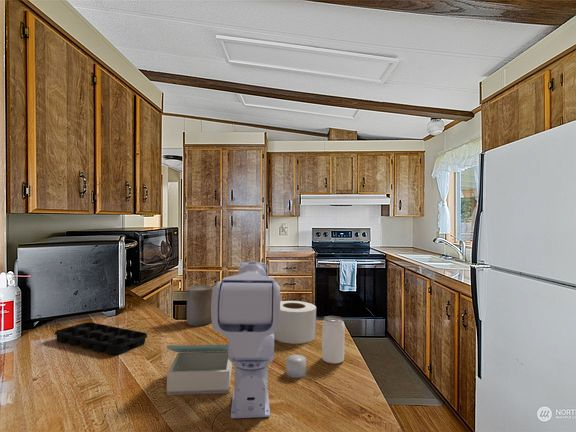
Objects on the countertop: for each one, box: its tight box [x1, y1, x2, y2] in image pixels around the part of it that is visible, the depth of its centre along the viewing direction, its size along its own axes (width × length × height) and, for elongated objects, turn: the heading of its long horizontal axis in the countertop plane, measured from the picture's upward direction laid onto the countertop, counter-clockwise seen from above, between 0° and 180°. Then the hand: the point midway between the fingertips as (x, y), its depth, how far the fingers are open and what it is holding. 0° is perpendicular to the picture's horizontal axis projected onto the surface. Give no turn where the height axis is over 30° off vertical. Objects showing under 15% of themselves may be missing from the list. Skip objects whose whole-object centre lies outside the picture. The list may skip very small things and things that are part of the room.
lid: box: [166, 344, 228, 353], centre depth 83 cm, size 12×15×1 cm
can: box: [321, 315, 346, 365], centre depth 98 cm, size 6×6×12 cm
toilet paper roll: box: [273, 300, 317, 345], centre depth 117 cm, size 16×15×11 cm
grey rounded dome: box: [285, 354, 307, 379], centre depth 88 cm, size 5×5×4 cm
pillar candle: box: [186, 284, 213, 327], centre depth 130 cm, size 10×10×15 cm
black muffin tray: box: [54, 321, 148, 357], centre depth 107 cm, size 18×30×4 cm, turn 79°
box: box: [166, 351, 233, 396], centre depth 83 cm, size 12×14×5 cm
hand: (255, 308), depth 93 cm, fingers open, 7 cm apart
